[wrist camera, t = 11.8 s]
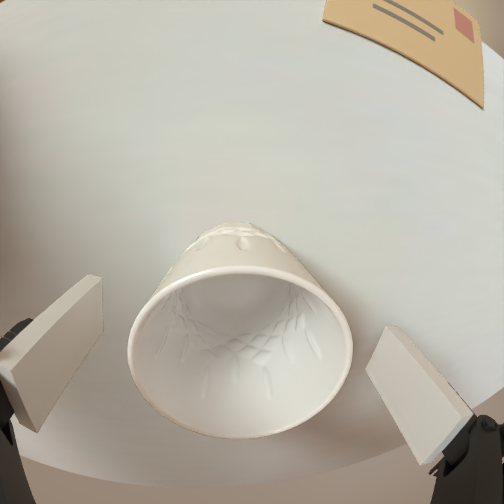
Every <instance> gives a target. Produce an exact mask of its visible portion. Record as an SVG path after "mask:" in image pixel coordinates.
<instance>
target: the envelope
mask: <svg viewBox="0 0 504 504" xmlns="http://www.w3.org/2000/svg"><path fill="white" fill-rule="evenodd" d="M322 21H325V22H328V23H331V24H333V25H336V26H339V27H342V28H344V29H347V30H349V31H352V32H354V33H357V34H359V35H362V36H364V37H366V38H369V39H371V40H373V41H375V42H377V43H379V44H382V45H384V46H386V47H388V48H390V49H392V50H394V51H396V52H398V53H400V54H401V55H403V56H405V57H407V58H409V59H411V60H412V61H414V62H416V63H418V64H419V65H421V66H423V67H424V68H426V69H428V70H429V71H431V72H433V73H434V74H436V75H437V76H439V77H440V78H442V79H443V80H445V81H446V82H448V83H449V84H451V85H452V86H454V87H455V88H456V89H458V90H459V91H461V92H462V93H463V94H465V95H466V96H467V97H469V98H470V99H471V100H473V101H474V102H475V103H476V104H478V105H479V106H480V107H481V108H484V71H483V56H482V46H481V37H480V30H479V23H478V22H477V21H476V20H475V19H474V18H472V17H471V16H470V15H469V14H468V13H466V12H465V11H464V10H463V9H461V8H460V7H459V6H457V5H456V4H455V3H453V2H452V1H451V0H326V5H325V10H324V15H323V20H322Z"/></svg>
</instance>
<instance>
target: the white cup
mask: <svg viewBox="0 0 504 504" xmlns="http://www.w3.org/2000/svg"><path fill="white" fill-rule="evenodd" d="M127 356H128V364H129V369H130V372H131V375H132V378H133V380H134V382H135V384H136V386H137V388H138V390H139V391H140V393H141V394H142V396H143V397H144V398H145V399H146V401H147V402H148V403H149V404H150V405H151V406H152V407H153V408H154V409H155V410H156V411H158V412H159V413H160V414H161V415H163V416H164V417H165V418H167V419H168V420H170V421H172V422H173V423H175V424H177V425H179V426H181V427H183V428H185V429H188V430H190V431H193V432H196V433H199V434H203V435H207V436H211V437H217V438H224V439H252V438H260V437H265V436H270V435H274V434H277V433H281V432H284V431H286V430H289V429H291V428H294V427H296V426H298V425H300V424H302V423H304V422H305V421H307V420H309V419H310V418H312V417H313V416H315V415H316V414H317V413H319V412H320V411H321V410H322V409H323V408H325V407H326V406H327V405H328V404H329V403H330V402H331V400H332V399H333V398H334V397H335V396H336V394H337V393H338V392H339V390H340V389H341V387H342V385H343V384H344V382H345V380H346V378H347V375H348V373H349V370H350V367H351V362H352V356H353V341H352V335H351V331H350V327H349V325H348V322H347V320H346V318H345V316H344V314H343V312H342V311H341V309H340V308H339V307H338V305H337V304H336V303H335V302H334V300H333V299H332V298H331V297H330V296H329V295H328V294H327V293H326V291H325V290H324V289H323V288H322V287H321V286H320V285H319V283H318V282H317V281H316V280H315V279H314V278H313V277H312V275H311V274H310V273H309V272H308V271H307V270H306V269H305V267H304V266H303V265H302V264H301V263H300V262H299V261H298V260H297V259H296V258H295V257H294V256H293V255H292V254H291V253H290V252H289V251H288V250H287V249H286V248H285V247H284V246H283V245H282V244H281V243H280V242H278V241H277V240H276V239H275V238H274V237H273V236H272V235H271V234H270V233H268V232H266V231H264V230H262V229H260V228H259V227H257V226H255V225H253V224H251V223H238V222H224V223H222V224H220V225H217V226H215V227H213V228H210V229H208V230H206V231H204V232H202V233H201V235H200V236H199V237H198V238H197V239H196V241H195V242H194V243H193V244H191V245H190V246H189V247H188V248H187V249H186V250H185V251H184V252H183V254H182V255H181V256H180V257H179V258H178V260H177V261H176V262H175V263H174V264H173V266H172V267H171V268H170V270H169V271H168V272H167V274H166V275H165V277H164V278H163V280H162V281H161V283H160V284H159V285H158V287H157V288H156V290H155V291H154V293H153V294H152V295H151V297H150V298H149V300H148V301H147V303H146V304H145V306H144V307H143V308H142V310H141V311H140V313H139V314H138V316H137V318H136V320H135V321H134V324H133V326H132V329H131V331H130V335H129V340H128V348H127Z"/></svg>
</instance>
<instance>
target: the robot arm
mask: <svg viewBox="0 0 504 504" xmlns="http://www.w3.org/2000/svg"><path fill="white" fill-rule="evenodd" d="M103 331H104V325H103V278H102V277H98V276H94V275H90V274H87V275H86V276H85V277H84V278H82V279H81V280H80V281H79V282H77V283H76V284H75V285H74V286H73V287H71V288H70V289H69V290H68V291H67V292H65V293H64V294H63V295H62V296H61V297H59V298H58V299H57V300H56V301H55V302H54V303H52V304H51V305H50V306H49V307H48V308H47V309H46V310H44V311H43V312H42V313H41V314H40V315H39V316H38V317H37V318H35V319H34V320H33V319H30V318H28V319H26V320H23V321H21V322H19V323H17V324H16V325H15V326H14V327H13V328H12V329H11V330H10V332H7V333H6V334H5V335H4V337H3V338H1V339H0V504H36V503H35V500H34V498H33V496H32V493H31V490H30V487H29V484H28V481H27V479H26V476H25V472H24V469H23V466H22V462H21V459H20V455H19V451H18V448H17V443H16V439H15V435H14V430H13V425H12V423H11V420H10V418H11V417H12V415H13V414H14V413H15V415H16V417H17V419H18V421H19V423H20V424H21V425H23V426H25V427H27V428H28V429H30V430H32V431H34V432H36V433H38V432H39V430H40V428H41V427H42V425H43V423H44V421H45V420H46V418H47V416H48V415H49V413H50V411H51V410H52V408H53V406H54V405H55V403H56V402H57V400H58V398H59V397H60V395H61V394H62V392H63V390H64V389H65V387H66V386H67V384H68V383H69V381H70V380H71V378H72V376H73V375H74V373H75V372H76V370H77V369H78V367H79V366H80V364H81V363H82V361H83V360H84V359H85V357H86V356H87V354H88V353H89V351H90V350H91V348H92V347H93V346H94V344H95V343H96V341H97V340H98V338H99V337H100V336H101V334H102V333H103ZM365 371H366V373H367V374H368V376H369V378H370V379H371V381H372V383H373V384H374V386H375V388H376V389H377V391H378V393H379V395H380V396H381V398H382V400H383V401H384V403H385V405H386V407H387V408H388V410H389V412H390V414H391V415H392V417H393V419H394V421H395V422H396V424H397V426H398V428H399V429H400V431H401V433H402V435H403V436H404V438H405V440H406V442H407V444H408V445H409V447H410V449H411V451H412V453H413V455H414V456H415V458H416V460H417V462H418V463H419V466H421V465H424V464H427V463H430V462H432V461H434V460H435V459H436V458H437V456H438V455H439V454H440V453H441V452H442V453H443V454H444V457H443V458H442V459H441V460H440V461H439V463H437V464H436V466H434V467H433V469H431V470H430V472H429V474H430V475H431V474H432V473H433V472H434V471H435V470H436V469H438V471H437V472H436V473H435V474H434V475H433V476H436V477H437V479H436V483H435V488H434V492H433V496H432V500H431V503H430V504H504V463H503V464H502V458H503V457H504V423H503V424H502V425H498V424H497V423H496V422H495V420H494V419H492V418H491V417H489V416H487V415H480V416H479V417H477V416H476V415H475V414H474V413H473V411H472V410H471V409H470V408H469V406H468V405H467V404H466V403H465V402H464V400H463V399H462V398H461V397H460V396H459V394H458V393H457V392H456V391H455V390H454V388H453V387H452V386H451V385H450V384H449V383H448V382H447V381H446V380H445V379H444V378H443V376H442V375H441V374H440V373H439V372H438V371H437V370H436V368H435V367H434V366H433V365H432V364H431V363H430V362H429V361H428V359H427V358H426V357H425V356H424V355H423V354H422V353H421V352H420V351H419V349H418V348H417V347H416V346H415V345H414V344H413V343H412V342H411V341H410V340H409V338H408V337H407V336H406V335H405V334H404V333H403V332H402V331H401V330H400V329H399V328H398V327H397V326H385V328H384V331H383V333H382V335H381V337H380V340H379V342H378V344H377V346H376V348H375V350H374V353H373V355H372V357H371V359H370V361H369V363H368V365H367V367H366V369H365Z"/></svg>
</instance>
